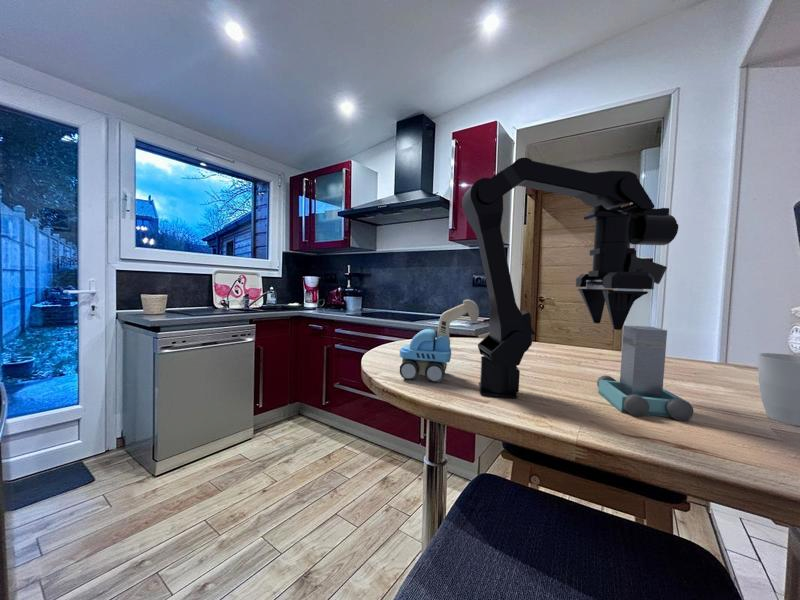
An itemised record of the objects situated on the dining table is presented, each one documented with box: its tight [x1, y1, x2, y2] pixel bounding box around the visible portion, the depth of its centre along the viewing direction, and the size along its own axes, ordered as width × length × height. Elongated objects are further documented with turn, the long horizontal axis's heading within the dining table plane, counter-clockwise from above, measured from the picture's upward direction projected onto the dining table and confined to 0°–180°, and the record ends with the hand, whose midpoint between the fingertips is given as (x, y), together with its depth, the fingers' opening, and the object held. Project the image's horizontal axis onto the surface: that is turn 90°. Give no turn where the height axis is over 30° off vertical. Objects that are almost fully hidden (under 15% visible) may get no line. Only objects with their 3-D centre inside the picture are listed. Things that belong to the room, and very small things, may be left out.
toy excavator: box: [399, 299, 480, 384], centre depth 69 cm, size 9×17×17 cm, turn 78°
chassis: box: [596, 374, 694, 422], centre depth 56 cm, size 10×12×3 cm
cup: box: [757, 352, 800, 427], centre depth 51 cm, size 8×8×10 cm
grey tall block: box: [619, 324, 668, 398], centre depth 56 cm, size 4×4×13 cm
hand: (606, 326), depth 61 cm, fingers open, 9 cm apart
